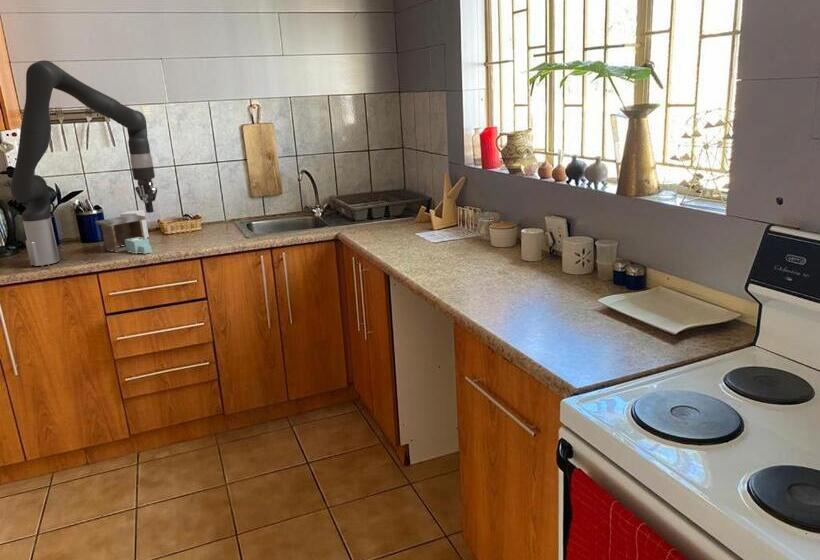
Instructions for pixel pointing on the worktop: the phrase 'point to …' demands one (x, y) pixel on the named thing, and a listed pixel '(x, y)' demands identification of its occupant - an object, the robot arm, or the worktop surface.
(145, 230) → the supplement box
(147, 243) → the caddy
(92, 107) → the robot arm
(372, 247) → the worktop surface
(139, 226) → the shelf
